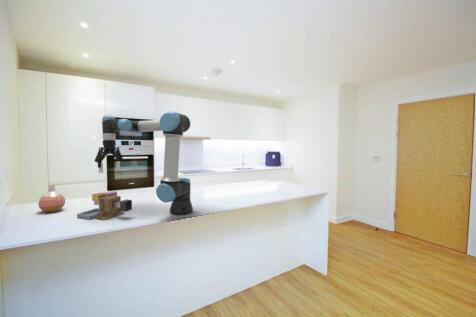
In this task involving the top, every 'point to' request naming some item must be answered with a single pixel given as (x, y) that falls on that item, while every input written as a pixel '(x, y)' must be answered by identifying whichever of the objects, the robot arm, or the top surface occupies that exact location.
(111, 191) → the box
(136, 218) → the top surface
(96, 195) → the spacer
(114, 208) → the bearing block
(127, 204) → the shaft
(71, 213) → the top surface
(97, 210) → the tray
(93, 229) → the top surface
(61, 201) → the vase
